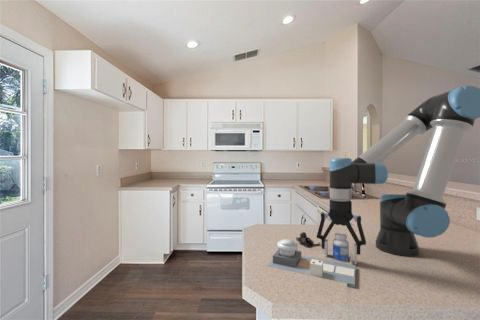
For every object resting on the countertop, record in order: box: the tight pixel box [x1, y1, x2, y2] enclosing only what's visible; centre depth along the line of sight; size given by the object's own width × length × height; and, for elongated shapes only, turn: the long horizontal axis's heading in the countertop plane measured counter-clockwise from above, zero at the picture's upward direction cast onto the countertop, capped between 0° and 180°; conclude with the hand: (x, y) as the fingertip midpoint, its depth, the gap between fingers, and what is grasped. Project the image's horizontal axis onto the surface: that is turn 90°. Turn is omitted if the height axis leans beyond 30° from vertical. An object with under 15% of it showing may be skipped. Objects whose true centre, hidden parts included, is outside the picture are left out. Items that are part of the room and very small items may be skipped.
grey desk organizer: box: [267, 249, 356, 289], centre depth 80 cm, size 27×14×5 cm, turn 63°
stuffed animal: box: [295, 231, 322, 249], centre depth 102 cm, size 12×10×12 cm
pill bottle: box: [332, 232, 350, 262], centre depth 87 cm, size 6×5×10 cm
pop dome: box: [276, 238, 299, 258], centre depth 85 cm, size 7×7×5 cm
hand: (340, 260), depth 87 cm, fingers open, 9 cm apart
